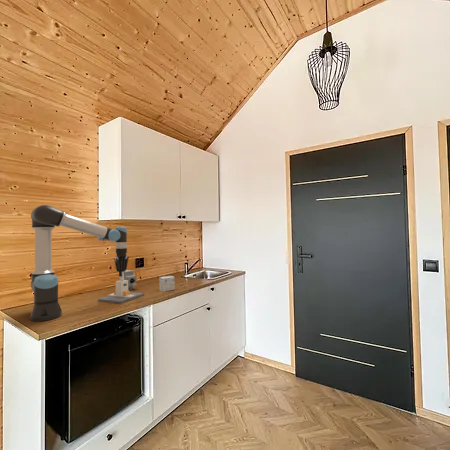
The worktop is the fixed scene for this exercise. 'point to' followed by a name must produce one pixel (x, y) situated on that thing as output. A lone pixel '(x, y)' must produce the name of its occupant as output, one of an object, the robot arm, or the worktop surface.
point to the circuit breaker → (130, 278)
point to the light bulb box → (166, 283)
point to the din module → (121, 287)
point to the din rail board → (121, 297)
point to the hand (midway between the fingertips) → (121, 280)
